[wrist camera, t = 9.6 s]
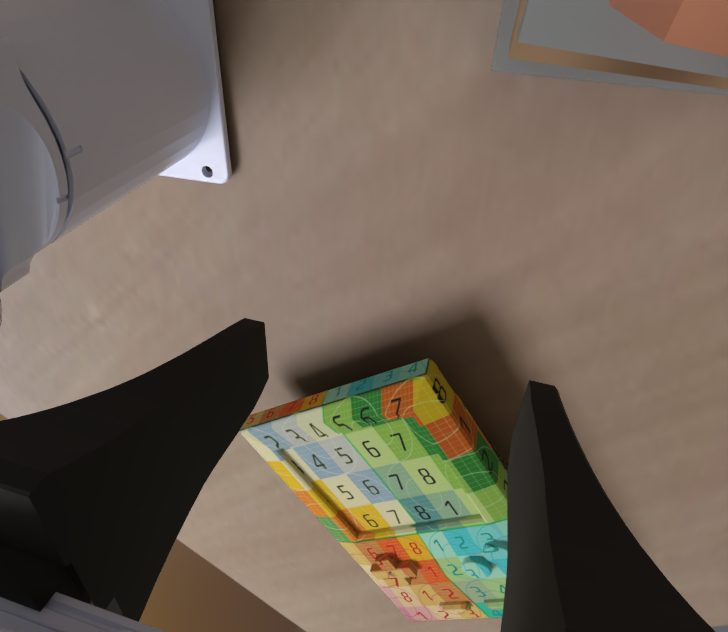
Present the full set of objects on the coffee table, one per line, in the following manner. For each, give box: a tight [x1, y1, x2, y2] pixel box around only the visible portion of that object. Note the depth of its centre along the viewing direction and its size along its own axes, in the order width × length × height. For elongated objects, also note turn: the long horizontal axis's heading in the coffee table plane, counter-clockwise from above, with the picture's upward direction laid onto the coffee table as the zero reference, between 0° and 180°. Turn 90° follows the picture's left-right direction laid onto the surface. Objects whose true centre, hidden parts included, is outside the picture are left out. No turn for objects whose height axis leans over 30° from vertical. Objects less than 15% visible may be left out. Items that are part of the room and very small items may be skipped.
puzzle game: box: [239, 358, 507, 621], centre depth 30 cm, size 12×5×20 cm
